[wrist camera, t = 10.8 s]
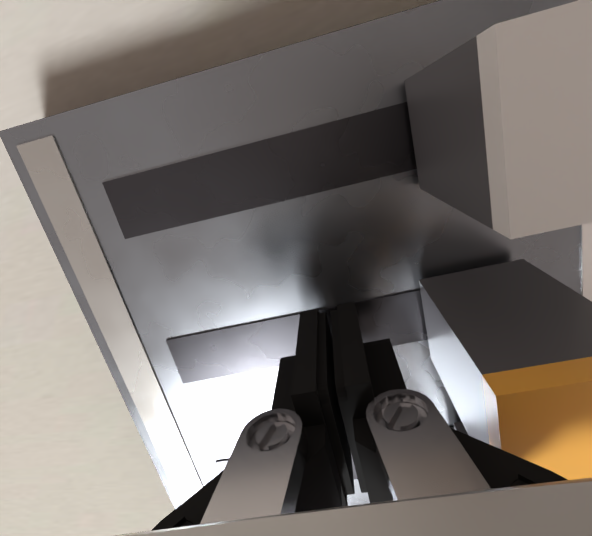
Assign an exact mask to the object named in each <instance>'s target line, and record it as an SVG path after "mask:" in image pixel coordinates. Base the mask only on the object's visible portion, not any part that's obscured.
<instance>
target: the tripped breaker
mask: <svg viewBox="0 0 592 536" xmlns="http://www.w3.org/2000/svg"><path fill="white" fill-rule="evenodd" d="M419 285H420V292H421V298H422V305H423V311H424V318H425V324H426V330H427V337H428V343H429V350H430V356H431V360H432V362H433V364H434V366H435V368H436V370H437V372H438V374H439V376H440V378H441V380H442V382H443V384H444V386H445V388H446V390H447V392H448V394H449V397H450V399H451V401H452V403H453V405H454V407H455V409H456V411H457V413H458V415H459V417H460V419H461V421H462V423H463V425H464V427H465V429H466V431H467V433H468V435H469V436H471V437H473V438H476V439H478V440H480V441H483V442H485V443H487V444H490V445H492V446H494V447H497V448H499V449H501V450H504V451H506V452H508V453H511V454H513V455H515V456H518V457H520V458H522V459H525V460H527V461H529V462H532V463H534V464H536V465H539V466H541V467H543V468H546V469H548V470H550V471H553V472H554V473H556V474H558V475H560V476H562V477H564V478H565V479H567V480H574V479H582V478H591V477H592V301H590V300H588V299H587V298H585V297H584V296H582V295H580V294H579V293H577V292H576V291H574V290H572V289H571V288H569V287H568V286H566V285H564V284H563V283H561V282H559V281H558V280H556V279H555V278H553V277H551V276H550V275H548V274H547V273H545V272H543V271H542V270H540V269H539V268H537V267H535V266H534V265H532V264H531V263H529V262H527V261H526V260H524V259H520V260H515V261H510V262H505V263H500V264H495V265H490V266H485V267H480V268H475V269H470V270H465V271H460V272H455V273H450V274H445V275H440V276H435V277H430V278H426V279H421V280H419Z"/></svg>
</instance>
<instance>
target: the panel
mask: <svg viewBox="0 0 592 536" xmlns="http://www.w3.org/2000/svg"><path fill="white" fill-rule="evenodd" d="M574 1H578V0H439V1H436V2H433V3H429V4H426V5H423V6H419V7H416V8H413V9H409V10H406V11H402V12H399V13H396V14H392V15H389V16H386V17H382V18H379V19H376V20H372V21H369V22H365V23H362V24H359V25H355V26H352V27H349V28H345V29H342V30H339V31H335V32H332V33H329V34H325V35H322V36H318V37H315V38H312V39H308V40H305V41H302V42H298V43H295V44H292V45H288V46H285V47H281V48H278V49H275V50H271V51H268V52H265V53H261V54H258V55H255V56H251V57H248V58H245V59H241V60H238V61H234V62H231V63H228V64H224V65H221V66H218V67H214V68H211V69H208V70H204V71H201V72H197V73H194V74H191V75H187V76H184V77H181V78H177V79H174V80H171V81H167V82H164V83H161V84H157V85H154V86H150V87H147V88H144V89H140V90H137V91H134V92H130V93H127V94H124V95H120V96H117V97H113V98H110V99H107V100H103V101H100V102H97V103H93V104H90V105H87V106H83V107H80V108H77V109H73V110H70V111H66V112H63V113H60V114H56V115H53V116H50V117H46V118H43V119H40V120H36V121H33V122H29V123H26V124H23V125H19V126H16V127H13V128H9V129H6V130H3V131H0V137H1V139H2V141H3V143H4V145H5V148H6V150H7V152H8V154H9V156H10V158H11V160H12V162H13V165H14V167H15V169H16V171H17V173H18V175H19V177H20V180H21V182H22V184H23V186H24V188H25V190H26V192H27V194H28V197H29V199H30V201H31V203H32V205H33V207H34V209H35V212H36V214H37V216H38V218H39V220H40V222H41V224H42V227H43V229H44V231H45V233H46V235H47V237H48V239H49V241H50V244H51V246H52V248H53V250H54V252H55V254H56V256H57V259H58V261H59V263H60V265H61V267H62V269H63V271H64V273H65V276H66V278H67V280H68V282H69V284H70V286H71V288H72V291H73V293H74V295H75V297H76V299H77V301H78V303H79V305H80V308H81V310H82V312H83V314H84V316H85V318H86V320H87V323H88V325H89V327H90V329H91V331H92V333H93V335H94V338H95V340H96V342H97V344H98V346H99V348H100V350H101V352H102V355H103V357H104V359H105V361H106V363H107V365H108V367H109V370H110V372H111V374H112V376H113V378H114V380H115V382H116V384H117V387H118V389H119V391H120V393H121V395H122V397H123V399H124V402H125V404H126V406H127V408H128V410H129V412H130V414H131V416H132V419H133V421H134V423H135V425H136V427H137V429H138V431H139V434H140V436H141V438H142V440H143V442H144V444H145V446H146V449H147V451H148V453H149V455H150V457H151V459H152V461H153V463H154V466H155V468H156V470H157V472H158V474H159V476H160V478H161V481H162V483H163V485H164V487H165V489H166V491H167V493H168V495H169V498H170V500H171V502H172V504H173V506H174V508H175V509H176V508H177V507H179V506H180V505H181V504H182V503H184V502H185V501H186V500H187V499H189V498H190V497H191V496H192V495H193V494H195V493H196V492H197V491H198V490H200V489H201V488H202V487H203V486H204V485H206V484H207V483H208V482H209V481H211V480H212V479H213V478H214V477H216V476H217V475H218V474H219V473H220V472H222V471H223V470H224V469H225V467H226V464H227V462H228V460H229V458H230V455H231V453H232V451H233V449H234V446H235V444H236V442H237V440H238V437H239V435H240V433H241V431H242V430H243V428H244V426H245V425H246V424H247V423H248V422H249V421H250V420H251V419H252V418H254V417H255V416H257V415H259V414H260V413H263V412H265V411H268V410H271V408H272V402H273V397H274V391H275V385H276V380H277V374H278V369H279V363H280V359H281V358H282V357H288V356H294V355H295V353H296V345H297V336H298V327H299V318H300V312H303V311H308V310H313V309H318V310H319V313H322V312H326V315H327V318H328V323H329V327H330V331H331V335H332V323H331V311H333V310H337V305H339V304H344V303H349V302H355V307H356V311H357V316H358V321H359V325H360V330H361V335H362V339H363V343H366V342H371V341H377V340H383V339H388V338H389V339H390V341H391V344H392V347H393V350H394V353H395V356H396V359H397V362H398V365H399V368H400V370H401V373H402V376H403V379H404V382H405V385H406V388H407V389H410V390H414V391H417V392H420V393H422V394H424V395H426V396H427V397H428V398H429V399H430V400H431V401H432V402H433V403H434V404H435V406H436V407H437V409H438V410H439V412H440V413H441V415H442V416H443V418H444V419H445V421H446V422H447V424H448V425H449V427H450V428H452V429H454V424H453V423H455V422H461V419H460V417H459V415H458V413H457V411H456V409H455V407H454V405H453V403H452V401H451V399H450V397H449V394H448V392H447V390H446V388H445V386H444V384H443V382H442V380H441V378H440V376H439V374H438V372H437V370H436V368H435V366H434V364H433V362H432V360H431V356H430V350H429V343H428V337H427V330H426V324H425V318H424V311H423V305H422V298H421V292H420V285H419V280H421V279H426V278H430V277H435V276H440V275H445V274H450V273H455V272H460V271H465V270H470V269H475V268H480V267H485V266H490V265H495V264H500V263H505V262H510V261H515V260H520V259H524V260H526V261H527V262H529V263H531V264H532V265H534V266H535V267H537V268H539V269H540V270H542V271H543V272H545V273H547V274H548V275H550V276H551V277H553V278H555V279H556V280H558V281H559V282H561V283H563V284H564V285H566V286H568V287H569V288H571V289H572V290H574V291H576V292H577V293H579V294H580V295H582V296H584V297H585V298H587V299H588V300H590V301H592V223H587V224H582V225H577V226H573V227H568V228H563V229H558V230H554V231H549V232H544V233H539V234H534V235H530V236H525V237H520V238H515V239H509V238H507V237H505V236H503V235H502V234H500V233H498V232H496V231H495V230H493V229H491V228H489V227H487V226H486V225H484V224H482V223H480V222H478V221H477V220H475V219H473V218H471V217H470V216H468V215H466V214H464V213H462V212H461V211H459V210H457V209H455V208H453V207H452V206H450V205H448V204H446V203H445V202H443V201H441V200H439V199H437V198H436V197H434V196H432V195H430V194H429V193H427V192H425V191H423V190H421V189H420V187H419V180H418V173H417V166H416V159H415V152H414V145H413V138H412V131H411V124H410V117H409V110H408V103H407V96H406V89H405V82H404V81H405V80H406V79H408V78H409V77H411V76H413V75H414V74H416V73H417V72H419V71H421V70H422V69H424V68H425V67H427V66H429V65H430V64H432V63H433V62H435V61H437V60H438V59H440V58H441V57H443V56H445V55H446V54H448V53H449V52H451V51H453V50H454V49H456V48H457V47H459V46H461V45H462V44H464V43H466V42H467V41H469V40H470V39H472V38H474V37H475V36H477V35H478V34H480V33H482V32H483V31H485V30H486V29H488V28H490V27H491V26H493V25H494V24H497V23H500V22H504V21H508V20H511V19H515V18H518V17H522V16H525V15H529V14H532V13H536V12H539V11H543V10H546V9H550V8H553V7H557V6H560V5H564V4H567V3H571V2H574ZM351 457H352V454H351ZM352 468H353V478H354V488H355V494H351V495H347V502H348V506H351V505H359V504H367V503H370V501H369V497H368V492H367V493H361V490H360V486H359V482H358V478H357V474H356V470H355V466H354V462H353V458H352Z"/></svg>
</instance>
